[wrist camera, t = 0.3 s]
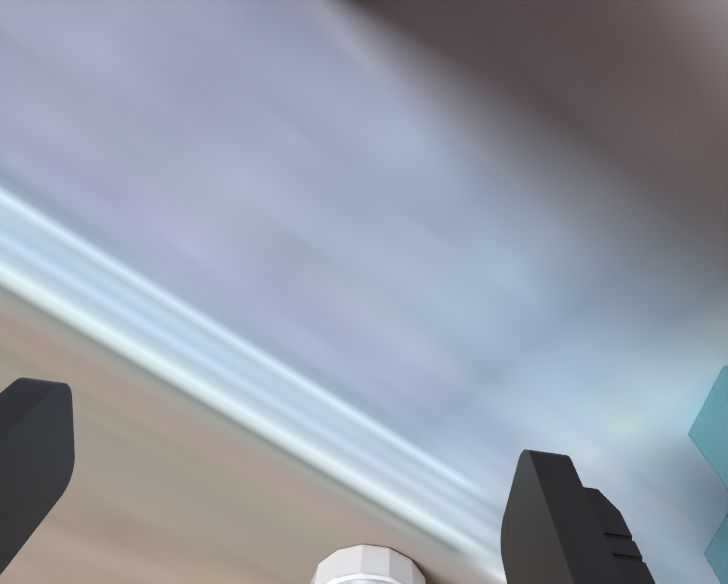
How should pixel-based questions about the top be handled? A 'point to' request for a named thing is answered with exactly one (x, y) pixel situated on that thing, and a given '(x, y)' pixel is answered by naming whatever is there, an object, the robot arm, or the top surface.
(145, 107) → the top surface
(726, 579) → the teal T-block
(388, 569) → the white cup
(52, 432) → the robot arm
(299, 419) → the top surface
